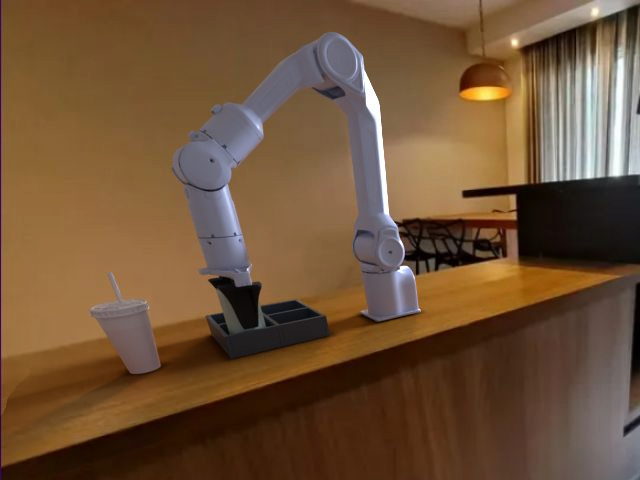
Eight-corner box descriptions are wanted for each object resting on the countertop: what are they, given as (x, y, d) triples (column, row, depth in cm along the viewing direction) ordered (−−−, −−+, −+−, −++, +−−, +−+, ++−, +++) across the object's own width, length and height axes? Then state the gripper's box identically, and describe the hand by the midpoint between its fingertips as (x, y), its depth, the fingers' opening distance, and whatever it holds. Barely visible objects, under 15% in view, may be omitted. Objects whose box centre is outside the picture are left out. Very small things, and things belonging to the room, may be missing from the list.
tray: (300, 316, 87) (296, 299, 85) (330, 335, 77) (326, 315, 75) (211, 335, 78) (205, 315, 76) (231, 358, 67) (224, 336, 66)
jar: (262, 328, 75) (249, 281, 72) (271, 335, 71) (258, 286, 68) (228, 335, 72) (212, 286, 68) (235, 343, 68) (219, 292, 65)
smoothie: (182, 360, 67) (147, 268, 61) (146, 378, 61) (104, 278, 55) (144, 359, 68) (105, 268, 62) (105, 377, 62) (59, 278, 56)
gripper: (181, 234, 68) (209, 319, 73) (197, 243, 58) (228, 340, 64) (232, 230, 72) (255, 310, 78) (256, 237, 62) (279, 329, 68)
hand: (246, 323), depth 71 cm, fingers closed on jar, 5 cm apart
